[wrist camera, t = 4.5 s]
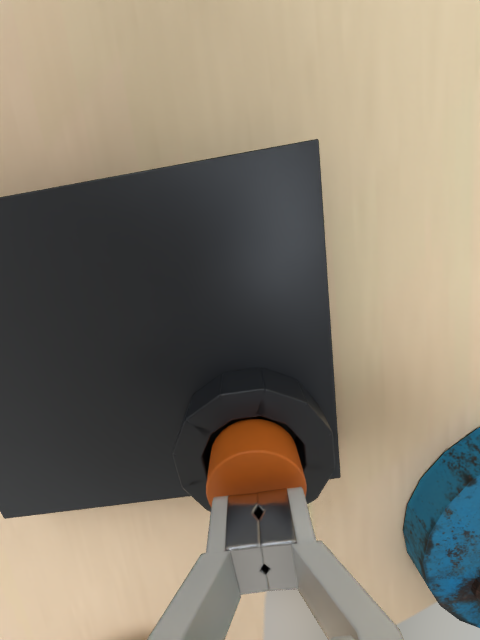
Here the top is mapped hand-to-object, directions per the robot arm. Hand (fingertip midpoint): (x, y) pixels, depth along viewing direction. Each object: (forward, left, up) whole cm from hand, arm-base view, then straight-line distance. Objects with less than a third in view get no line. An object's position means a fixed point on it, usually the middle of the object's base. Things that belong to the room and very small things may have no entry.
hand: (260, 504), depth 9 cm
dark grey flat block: (-5, +4, -5) cm, 8 cm away
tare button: (0, 0, -2) cm, 2 cm away
